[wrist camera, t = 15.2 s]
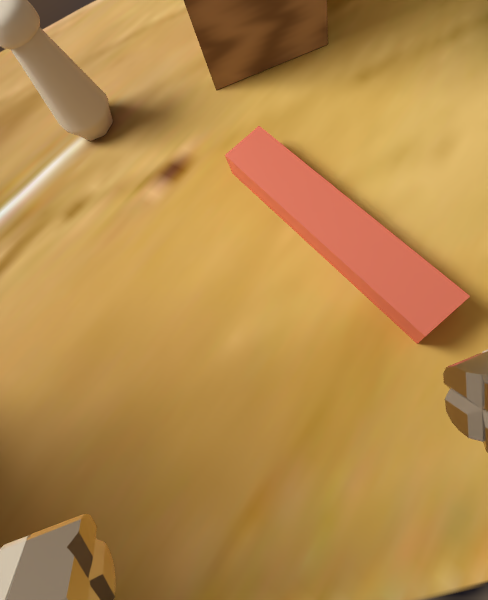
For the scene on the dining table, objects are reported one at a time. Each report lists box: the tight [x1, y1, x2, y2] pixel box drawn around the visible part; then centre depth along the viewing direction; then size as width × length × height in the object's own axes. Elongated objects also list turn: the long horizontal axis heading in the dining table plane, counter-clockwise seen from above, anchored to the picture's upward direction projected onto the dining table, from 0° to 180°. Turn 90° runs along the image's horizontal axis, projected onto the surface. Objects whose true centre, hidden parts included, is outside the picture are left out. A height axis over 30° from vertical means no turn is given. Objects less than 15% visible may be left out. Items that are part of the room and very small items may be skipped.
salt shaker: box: [0, 0, 113, 141], centre depth 35 cm, size 6×6×13 cm
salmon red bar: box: [225, 126, 470, 344], centre depth 30 cm, size 4×22×3 cm, turn 39°
